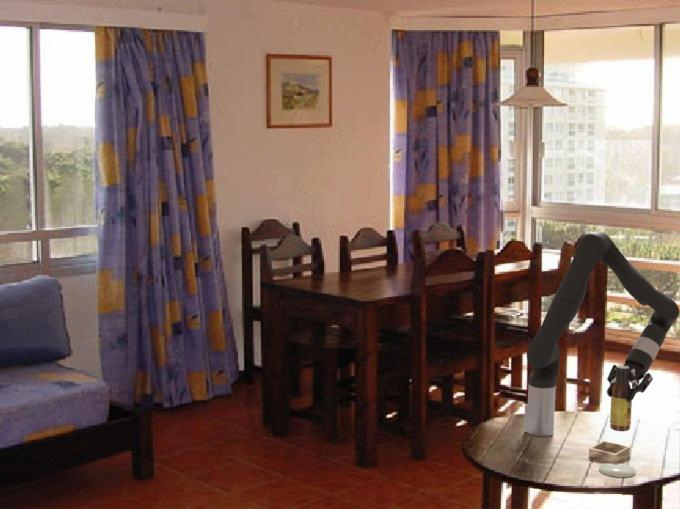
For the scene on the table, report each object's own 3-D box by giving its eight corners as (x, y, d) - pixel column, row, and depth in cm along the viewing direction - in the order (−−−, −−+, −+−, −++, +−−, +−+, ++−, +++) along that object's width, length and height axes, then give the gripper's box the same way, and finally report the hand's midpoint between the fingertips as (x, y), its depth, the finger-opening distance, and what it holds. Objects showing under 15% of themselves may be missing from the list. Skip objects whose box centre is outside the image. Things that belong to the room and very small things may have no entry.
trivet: (593, 471, 330) (593, 469, 330) (608, 462, 339) (608, 460, 339) (625, 480, 323) (626, 478, 323) (641, 470, 332) (641, 468, 332)
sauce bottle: (631, 433, 325) (634, 370, 322) (610, 431, 326) (613, 369, 323) (629, 426, 332) (632, 365, 328) (609, 424, 333) (612, 363, 330)
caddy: (588, 457, 343) (589, 448, 343) (603, 449, 351) (603, 440, 351) (615, 463, 337) (616, 454, 337) (629, 455, 345) (630, 446, 345)
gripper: (618, 343, 335) (594, 386, 330) (658, 352, 324) (633, 396, 319) (627, 357, 340) (603, 399, 334) (666, 366, 329) (642, 410, 323)
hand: (618, 397), depth 326 cm, fingers closed on sauce bottle, 6 cm apart
